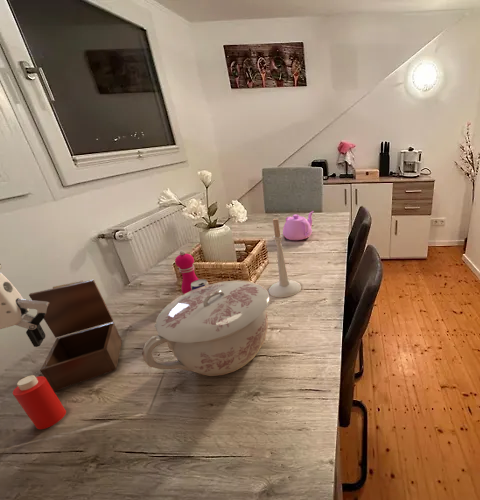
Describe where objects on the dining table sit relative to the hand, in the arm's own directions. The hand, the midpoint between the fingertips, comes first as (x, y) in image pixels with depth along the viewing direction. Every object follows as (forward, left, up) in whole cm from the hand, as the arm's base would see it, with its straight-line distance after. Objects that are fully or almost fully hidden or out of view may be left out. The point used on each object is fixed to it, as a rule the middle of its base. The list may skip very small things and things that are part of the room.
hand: (5, 352), depth 55 cm
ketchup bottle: (0, 0, -20) cm, 20 cm away
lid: (-1, +22, -5) cm, 23 cm away
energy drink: (+27, +34, -20) cm, 48 cm away
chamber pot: (+36, +9, -20) cm, 43 cm away
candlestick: (+55, +40, -20) cm, 71 cm away
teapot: (+70, +101, -20) cm, 125 cm away
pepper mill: (+21, +46, -20) cm, 54 cm away
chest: (0, +17, -20) cm, 26 cm away
